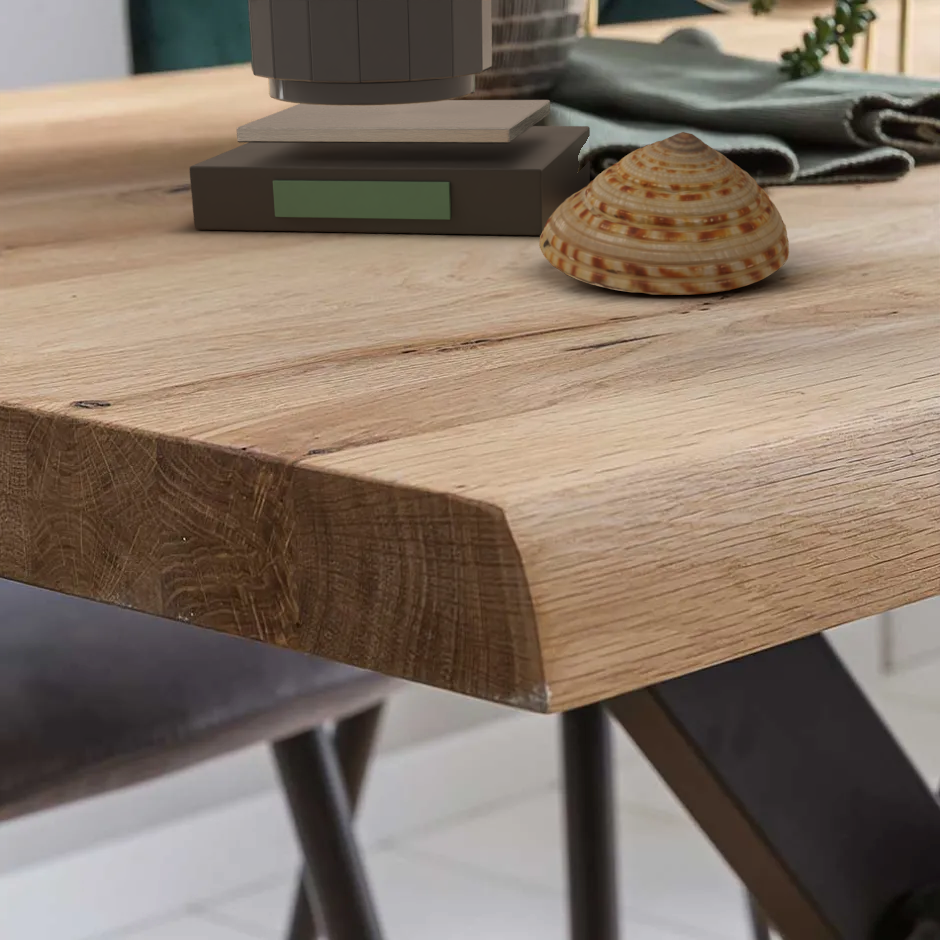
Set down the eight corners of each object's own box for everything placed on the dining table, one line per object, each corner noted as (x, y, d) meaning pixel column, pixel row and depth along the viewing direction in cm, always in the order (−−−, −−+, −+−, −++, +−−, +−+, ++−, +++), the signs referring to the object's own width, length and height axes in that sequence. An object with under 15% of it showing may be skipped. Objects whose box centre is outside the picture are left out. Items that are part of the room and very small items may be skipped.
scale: (191, 230, 62) (186, 167, 61) (292, 180, 73) (288, 125, 72) (541, 236, 59) (540, 170, 58) (590, 182, 70) (589, 125, 69)
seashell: (734, 173, 58) (808, 109, 50) (747, 324, 58) (825, 284, 50) (514, 183, 57) (556, 120, 49) (527, 338, 56) (571, 300, 49)
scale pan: (236, 142, 62) (235, 127, 62) (308, 113, 70) (307, 100, 70) (509, 143, 60) (509, 127, 60) (550, 113, 68) (550, 99, 68)
